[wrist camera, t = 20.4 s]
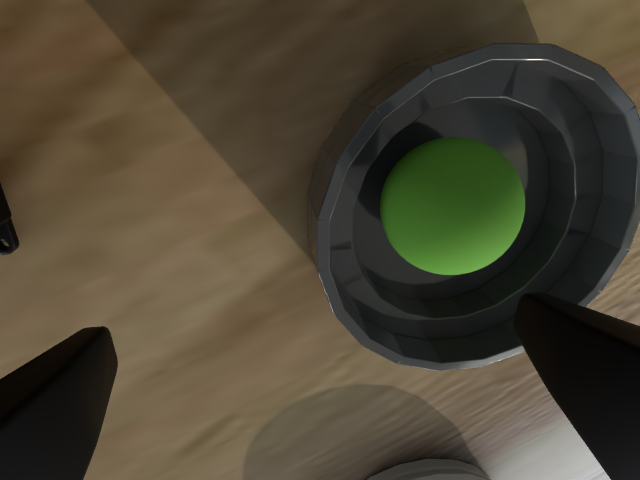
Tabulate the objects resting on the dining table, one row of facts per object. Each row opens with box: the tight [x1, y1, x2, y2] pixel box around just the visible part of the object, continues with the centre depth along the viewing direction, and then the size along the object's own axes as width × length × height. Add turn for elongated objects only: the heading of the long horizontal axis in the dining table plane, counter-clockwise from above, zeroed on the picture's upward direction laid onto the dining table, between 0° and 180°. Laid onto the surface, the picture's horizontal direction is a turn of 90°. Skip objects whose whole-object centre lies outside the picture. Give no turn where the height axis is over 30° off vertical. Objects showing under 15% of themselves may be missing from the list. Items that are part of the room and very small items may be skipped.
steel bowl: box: [307, 43, 640, 371], centre depth 20 cm, size 16×16×4 cm
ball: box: [380, 137, 525, 275], centre depth 18 cm, size 6×6×6 cm
